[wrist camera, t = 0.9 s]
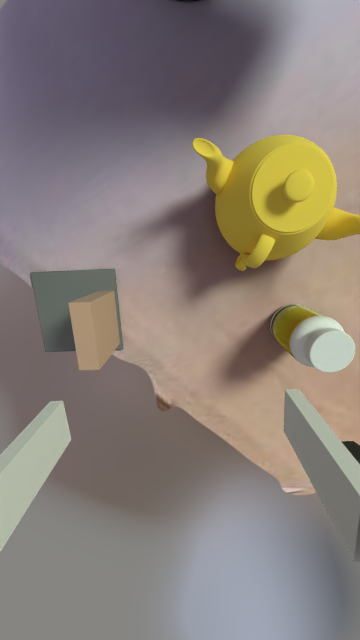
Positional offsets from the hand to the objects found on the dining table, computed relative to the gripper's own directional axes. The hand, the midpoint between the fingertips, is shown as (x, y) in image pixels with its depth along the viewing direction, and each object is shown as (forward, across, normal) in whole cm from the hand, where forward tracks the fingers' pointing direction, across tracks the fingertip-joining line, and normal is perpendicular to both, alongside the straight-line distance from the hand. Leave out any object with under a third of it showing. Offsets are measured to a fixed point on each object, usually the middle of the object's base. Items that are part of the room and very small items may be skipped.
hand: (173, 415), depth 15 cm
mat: (+23, -15, +2) cm, 28 cm away
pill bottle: (+23, +16, -2) cm, 28 cm away
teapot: (+23, +11, +13) cm, 29 cm away
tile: (+22, -11, +1) cm, 25 cm away
